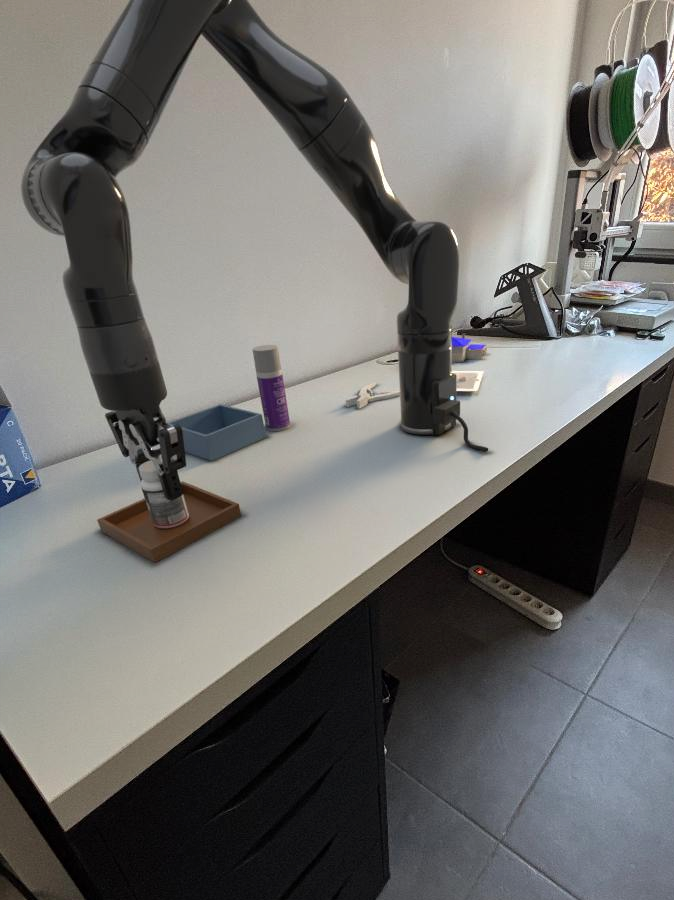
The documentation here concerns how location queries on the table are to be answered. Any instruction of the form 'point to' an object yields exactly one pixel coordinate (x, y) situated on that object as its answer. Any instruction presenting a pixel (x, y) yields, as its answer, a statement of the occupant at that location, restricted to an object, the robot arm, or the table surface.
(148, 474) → the pill bottle
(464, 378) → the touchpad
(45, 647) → the table surface
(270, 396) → the container
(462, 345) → the house
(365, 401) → the pliers
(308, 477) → the table surface
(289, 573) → the table surface
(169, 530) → the tray
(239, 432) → the storage box
